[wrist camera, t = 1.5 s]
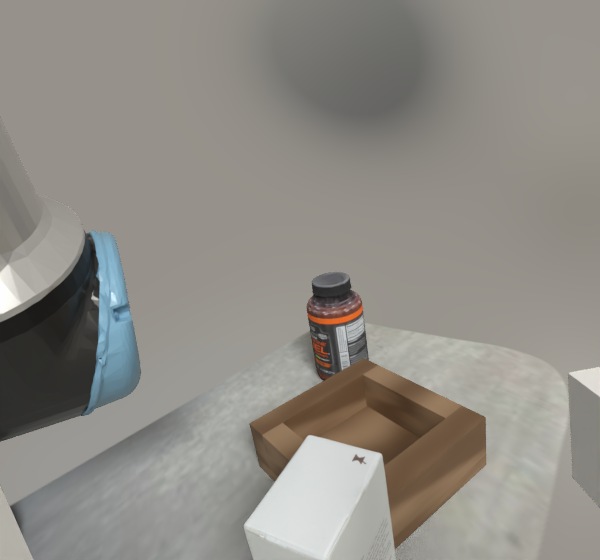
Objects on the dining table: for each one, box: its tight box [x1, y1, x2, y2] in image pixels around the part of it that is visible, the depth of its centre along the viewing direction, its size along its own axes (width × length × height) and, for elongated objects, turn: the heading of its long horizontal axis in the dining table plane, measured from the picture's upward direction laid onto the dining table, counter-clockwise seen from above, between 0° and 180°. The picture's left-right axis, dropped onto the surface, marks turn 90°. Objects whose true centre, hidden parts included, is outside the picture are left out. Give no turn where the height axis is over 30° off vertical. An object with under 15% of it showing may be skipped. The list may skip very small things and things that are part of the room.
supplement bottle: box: [307, 272, 369, 380], centre depth 47 cm, size 6×6×11 cm
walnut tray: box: [250, 358, 486, 549], centre depth 35 cm, size 13×13×4 cm
